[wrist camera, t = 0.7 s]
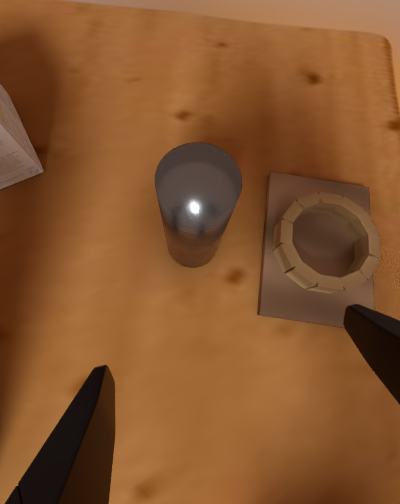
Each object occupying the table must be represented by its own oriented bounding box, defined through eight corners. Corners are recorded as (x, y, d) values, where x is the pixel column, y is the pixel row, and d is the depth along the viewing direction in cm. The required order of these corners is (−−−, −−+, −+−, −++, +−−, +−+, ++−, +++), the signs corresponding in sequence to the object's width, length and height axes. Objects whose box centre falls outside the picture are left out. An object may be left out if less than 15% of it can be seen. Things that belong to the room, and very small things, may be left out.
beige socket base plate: (369, 331, 23) (393, 332, 20) (257, 314, 23) (267, 313, 20) (363, 191, 27) (383, 176, 24) (268, 176, 27) (277, 159, 24)
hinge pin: (226, 236, 25) (257, 169, 14) (200, 277, 24) (213, 236, 13) (185, 211, 25) (186, 128, 15) (157, 250, 24) (137, 190, 13)
